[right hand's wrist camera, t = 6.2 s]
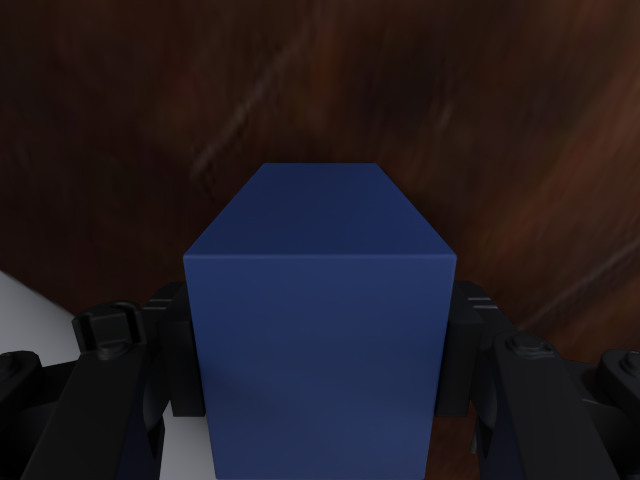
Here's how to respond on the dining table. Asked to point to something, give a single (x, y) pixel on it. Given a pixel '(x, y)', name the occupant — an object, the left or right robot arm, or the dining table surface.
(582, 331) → the dining table surface
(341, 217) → the brick
